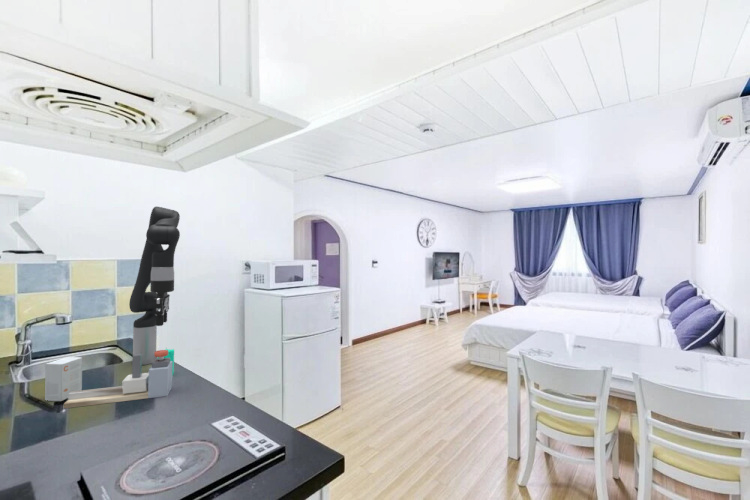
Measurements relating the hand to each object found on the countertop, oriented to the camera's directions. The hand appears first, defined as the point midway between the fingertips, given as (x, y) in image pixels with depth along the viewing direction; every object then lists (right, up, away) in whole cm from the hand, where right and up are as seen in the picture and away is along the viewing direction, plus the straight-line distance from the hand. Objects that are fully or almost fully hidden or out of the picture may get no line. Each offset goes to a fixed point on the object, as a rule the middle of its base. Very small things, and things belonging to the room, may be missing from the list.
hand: (161, 323), depth 128 cm
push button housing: (0, -26, 0) cm, 26 cm away
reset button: (0, -14, 0) cm, 14 cm away
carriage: (-7, -23, -3) cm, 25 cm away
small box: (-32, -25, -5) cm, 41 cm away
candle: (-9, -26, +17) cm, 32 cm away
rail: (-14, -25, -6) cm, 30 cm away
